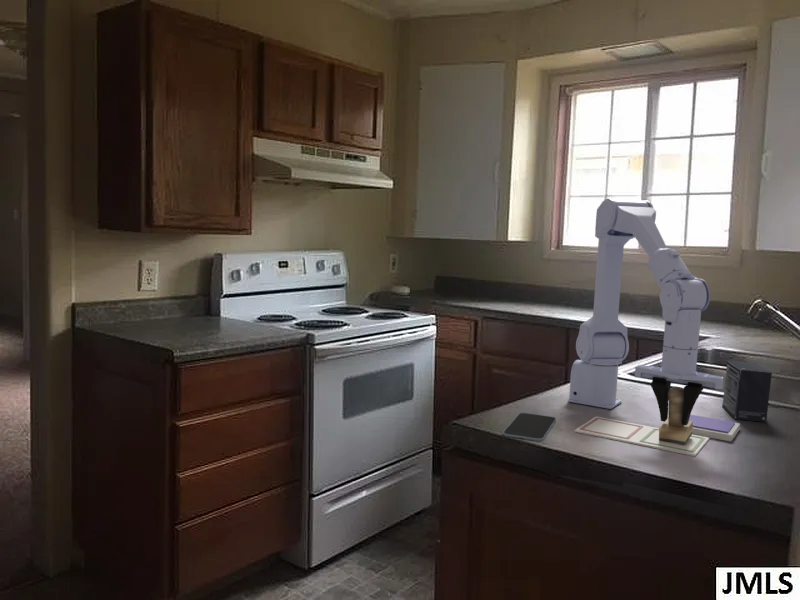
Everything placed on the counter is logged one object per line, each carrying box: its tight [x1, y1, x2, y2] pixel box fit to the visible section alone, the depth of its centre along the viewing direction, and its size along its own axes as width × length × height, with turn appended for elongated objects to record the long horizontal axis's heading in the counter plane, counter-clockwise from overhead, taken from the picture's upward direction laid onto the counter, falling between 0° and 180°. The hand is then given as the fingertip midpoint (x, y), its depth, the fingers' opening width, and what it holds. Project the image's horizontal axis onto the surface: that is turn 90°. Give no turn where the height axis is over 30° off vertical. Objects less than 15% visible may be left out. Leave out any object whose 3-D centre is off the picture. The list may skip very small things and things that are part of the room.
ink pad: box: [689, 414, 741, 443], centre depth 131 cm, size 10×10×2 cm
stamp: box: [658, 386, 693, 445], centre depth 123 cm, size 4×6×9 cm
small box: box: [721, 360, 773, 423], centre depth 144 cm, size 11×6×10 cm, turn 168°
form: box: [574, 416, 710, 457], centre depth 127 cm, size 21×12×1 cm, turn 56°
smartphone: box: [502, 412, 557, 442], centre depth 129 cm, size 7×1×15 cm
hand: (674, 422), depth 123 cm, fingers closed on stamp, 3 cm apart
